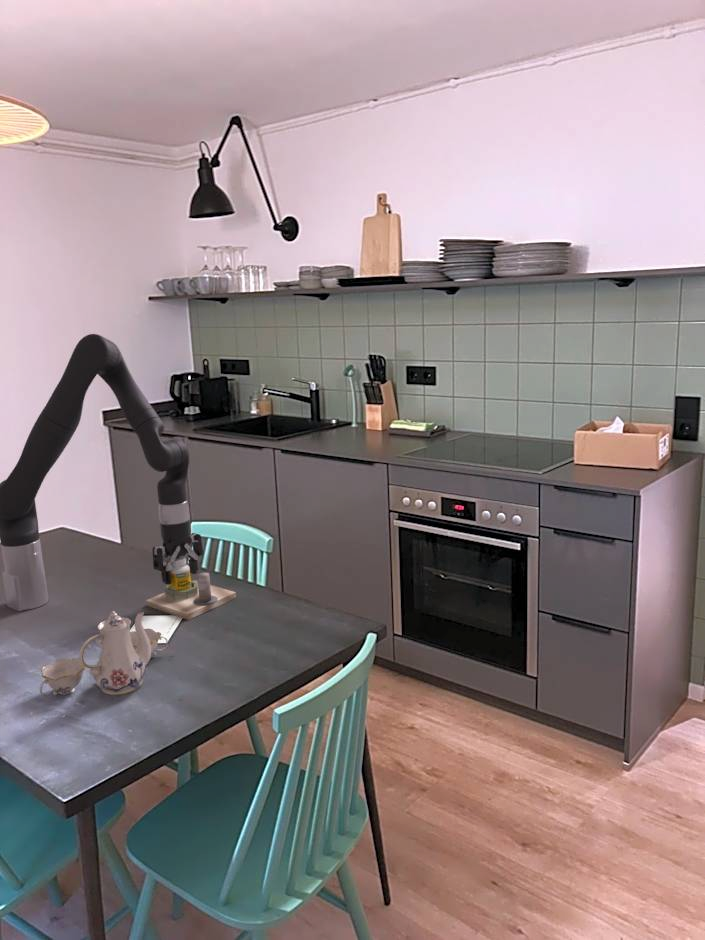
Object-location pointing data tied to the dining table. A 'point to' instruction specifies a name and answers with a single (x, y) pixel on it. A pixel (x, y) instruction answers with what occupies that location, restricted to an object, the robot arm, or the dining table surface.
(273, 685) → the dining table surface
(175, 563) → the supplement bottle
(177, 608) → the board
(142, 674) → the chinaware
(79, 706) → the dining table surface
